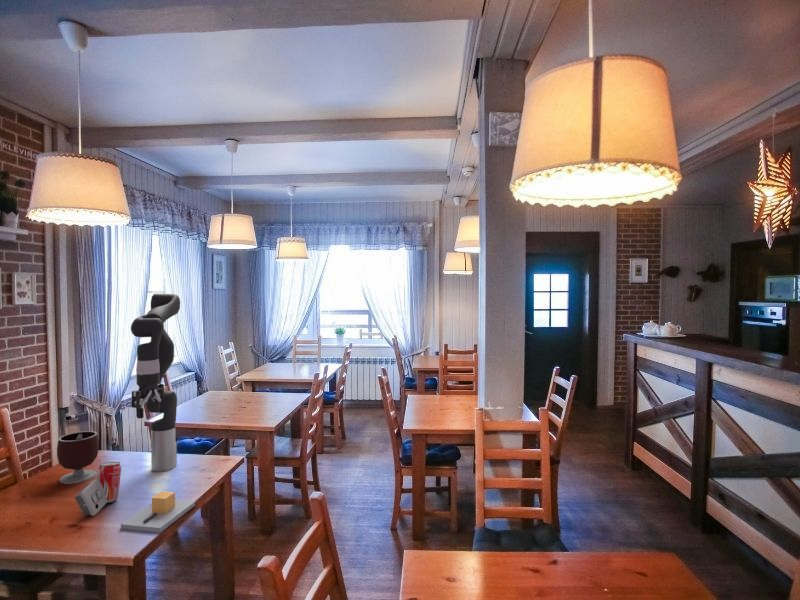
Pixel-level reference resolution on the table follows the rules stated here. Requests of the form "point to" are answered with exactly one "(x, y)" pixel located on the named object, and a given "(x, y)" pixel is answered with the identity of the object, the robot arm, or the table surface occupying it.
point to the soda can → (110, 479)
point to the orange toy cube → (163, 502)
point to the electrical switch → (91, 498)
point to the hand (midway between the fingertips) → (148, 415)
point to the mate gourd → (77, 455)
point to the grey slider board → (157, 517)
